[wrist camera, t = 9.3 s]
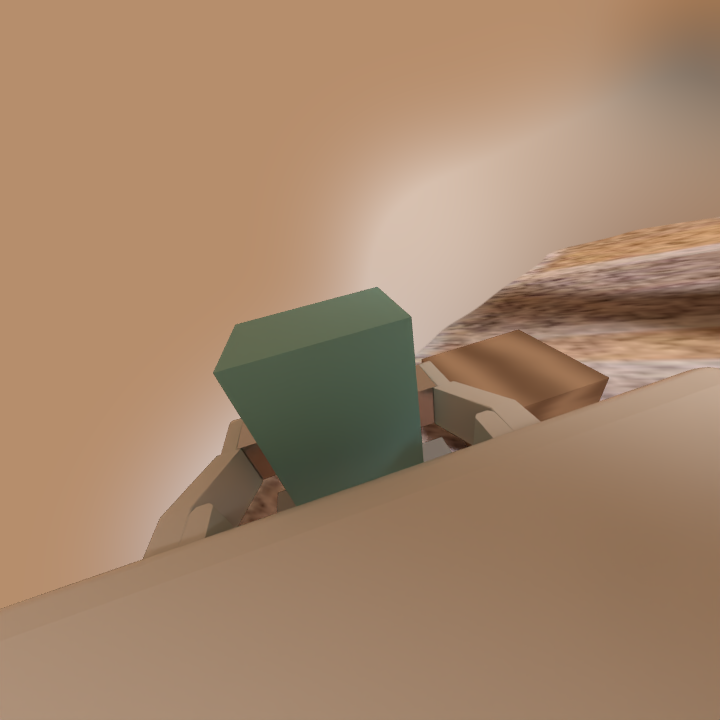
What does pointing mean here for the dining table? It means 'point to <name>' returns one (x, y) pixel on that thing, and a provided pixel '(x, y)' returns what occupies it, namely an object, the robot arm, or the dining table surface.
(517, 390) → the brown block
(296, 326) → the sage green upright block
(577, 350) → the dining table surface
